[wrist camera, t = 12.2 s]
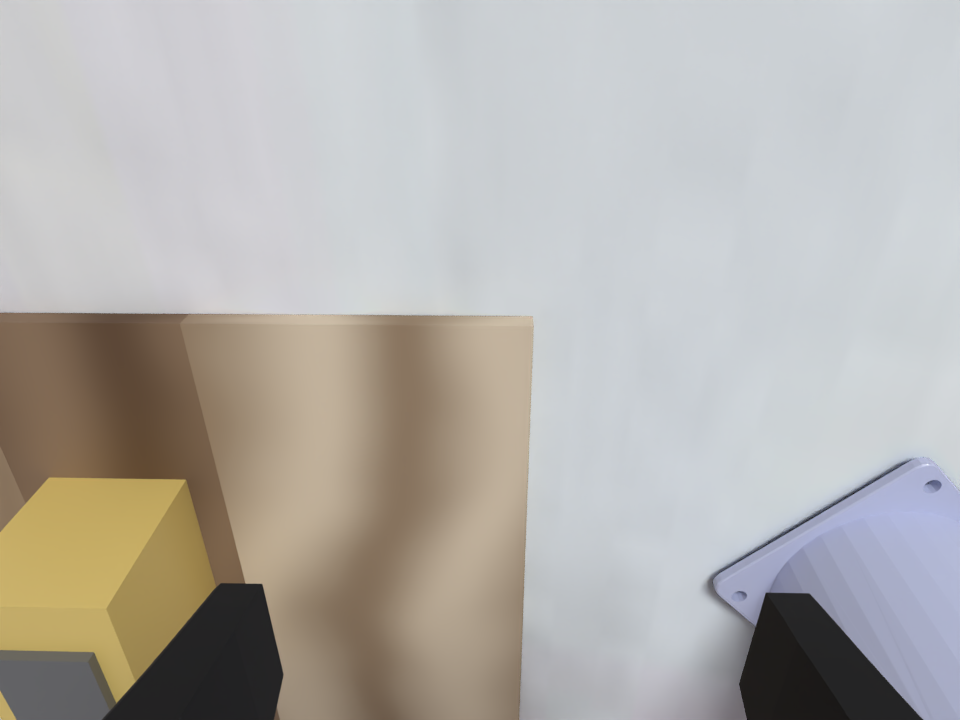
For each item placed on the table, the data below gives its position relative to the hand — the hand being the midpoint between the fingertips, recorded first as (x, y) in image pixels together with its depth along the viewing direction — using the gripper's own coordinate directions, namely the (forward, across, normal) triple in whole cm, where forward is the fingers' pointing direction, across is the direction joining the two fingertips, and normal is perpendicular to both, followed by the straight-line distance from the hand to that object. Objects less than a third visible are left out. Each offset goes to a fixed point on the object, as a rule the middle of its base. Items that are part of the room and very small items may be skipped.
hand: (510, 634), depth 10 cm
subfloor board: (+10, +9, +10) cm, 17 cm away
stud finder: (+10, +12, +10) cm, 19 cm away
